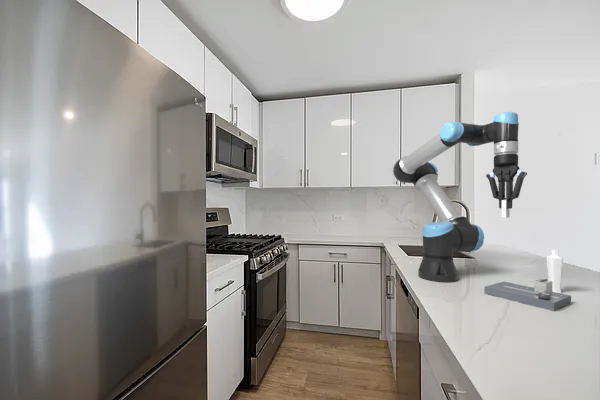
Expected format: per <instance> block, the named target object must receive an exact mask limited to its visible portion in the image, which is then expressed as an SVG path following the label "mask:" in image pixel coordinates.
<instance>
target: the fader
mask: <svg viewBox="0 0 600 400" xmlns="http://www.w3.org/2000/svg"><path fill="white" fill-rule="evenodd" d="M533 288H534V293H535V294H538V293H539V292H542V293H548V294H552V281H549V280H548V278H547V279H546V278H544V279H543V278H539V279H537V280H536V279H535V280H534V287H533Z"/></svg>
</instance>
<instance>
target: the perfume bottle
mask: <svg viewBox="0 0 600 400" xmlns="http://www.w3.org/2000/svg"><path fill="white" fill-rule="evenodd" d="M563 261H564V258H563V257H561V256H560V255H559V249H551V254H550V255H547V256H546V267H547V268H546V269H547V277H548V278H547V280H549V281H552V292H556V293H561V294H563V292H562V290H561V287H562V286H561V285H562V275H563V274H562V273H563Z"/></svg>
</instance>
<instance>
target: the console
mask: <svg viewBox="0 0 600 400" xmlns="http://www.w3.org/2000/svg"><path fill="white" fill-rule="evenodd" d="M483 291H484V294H485V295H488V296H492V297H497V298H500V299H501V298H502V299H505V300H509V301H513V302H516V301H517V302H516V303H521V304H524V305H528V306H533V307H536V308H541V309H544V310H548V311H552V312H555V311H557V310H560V309H562V308H564V307H566V306H568V305H570V304H572V295H569V294H565V293H556V292H552V294H548V293H542V292H539V293H538V294H535V293H534V287H532V286H527V285H522V284H517V283H513V282H508V281H500V282H496V283H493V284H489V285H486V286H484V290H483Z"/></svg>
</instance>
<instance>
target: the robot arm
mask: <svg viewBox="0 0 600 400" xmlns="http://www.w3.org/2000/svg"><path fill="white" fill-rule="evenodd" d="M519 125H520V123H519V115H518V113H516V112H515V111H506V112H501V113H497V114H495V115H494V116H493V121H492V122H491V123H485V124H482V125H481V124H473V123H466V122H465V123H464V122H459V121H448V122H445V123H444V124H442V127H440V130H439V133H438V134H436V136H434V137H433V138H431V139H430V140H428V141H427V142H425V143H423V145H421V146H419V148H417V149H416V150H414V151H412V152H411V153H410V154H409V155H407V156H406V155H404V156H402V157H400V158H399V159H398V160H397V161H396V162H395V163H394V165H393V168H392V169H393V170H392V171H393V176H394V177H395V179H396V180H397V181H398V182H400V183H404V184H405V183H406V184H413V186H414V187H415V189H416V190H418V191H421V192H422V195H423V196H424V197H425V200H426V201H427V202H428V204H429V205H430V207H431V209H432V210H433V212H434V213H435V215H436V216H437V218H438V220H439V221H433V222H428V223H425V224H424V225H423V228H422V259H421V262H420V265H419V267H418V270H417V272H418V273H417V274H418V277H419V278H421V279H424V280H428V281H433V282H440V283H451V282H452V283H454V282H457V281H458V280H459V279H458V278H459V275H458V271H457V268H456V266H455V262H454V253H463V252H464V253H465V252H466V253H470V252H475V251H478V250H480V249H481V248H482V247H483V245H484V242H485V241H484V240H485V233H484V231H483V229H482V227H480V226H479V225H476V224H472V223H471V222H470V221H469V219H468V218H467V217H466V216H463V215H461V214H460V213H459V211H458V210H457V208H456V207H455V206H454V205H455V204H453V202H452V201H451V200H450V197H448V196H447V193H445V192H444V189H443V188H442V186H440V184H439V182H438V177H439V173H438V167H437V166H436V165H435V164H434V163H433V162H430V161H432V160H433V159H435V158H437V157H439V156H440V155H441V154H443V153H445V152H446V151H447V150H449V149H451V148H452V147H454V146H456V145H457V144H459V143H462V144H467V145H468V146H469V147H479V146H481V145H485V144H490V143H493V155H494V156H493V169H492V172H490V173H487V174H486V175H485V177H486V178H487V180H488V182H489V186H490V190H491V194H492V198H493V199H496V200H497V201H498V208H499V209H501V218H505V219H507V218H510V214H511V213H510V209H513V200H515V199H518V198H519V197H520V194H521V189H522V186H523V182H524V179H525V177H527V175H528V172H526V171H523V170H521V169H520V167H519ZM516 176H517V177H516ZM515 177H516V180H515V183H514V178H515ZM496 178H497V180H496ZM497 182H498V186H497Z"/></svg>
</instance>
